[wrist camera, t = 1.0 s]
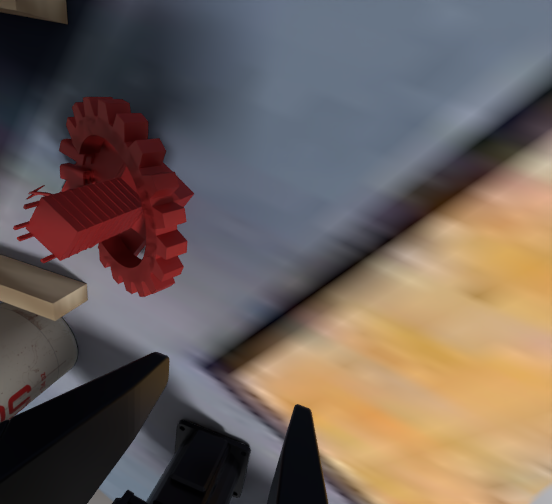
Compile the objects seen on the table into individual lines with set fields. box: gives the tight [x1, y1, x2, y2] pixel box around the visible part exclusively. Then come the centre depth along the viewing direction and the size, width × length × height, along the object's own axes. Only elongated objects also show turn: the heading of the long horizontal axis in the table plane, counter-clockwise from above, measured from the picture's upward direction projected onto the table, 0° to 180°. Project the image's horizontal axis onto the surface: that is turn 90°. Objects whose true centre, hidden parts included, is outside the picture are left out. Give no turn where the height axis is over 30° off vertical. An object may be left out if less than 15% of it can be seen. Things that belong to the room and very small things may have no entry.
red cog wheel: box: [13, 97, 194, 297], centre depth 18 cm, size 11×12×8 cm
